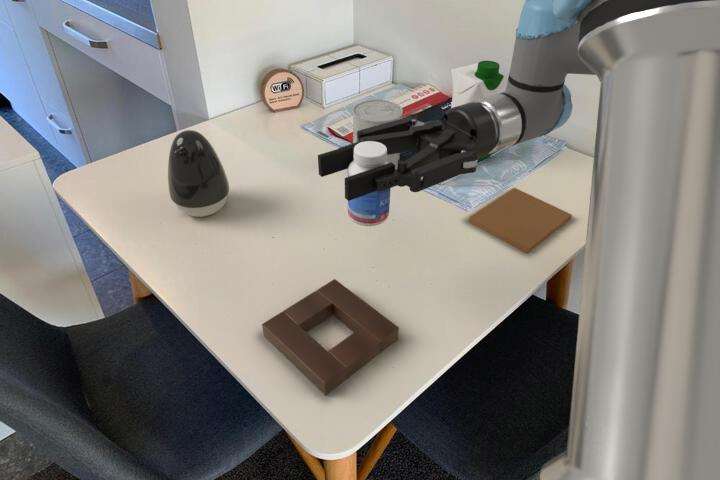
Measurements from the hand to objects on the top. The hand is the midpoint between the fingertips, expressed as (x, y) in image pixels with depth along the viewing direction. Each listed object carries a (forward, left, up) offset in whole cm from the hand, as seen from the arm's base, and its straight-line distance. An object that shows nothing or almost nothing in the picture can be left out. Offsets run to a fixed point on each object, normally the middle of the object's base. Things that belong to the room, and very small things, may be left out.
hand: (333, 177), depth 61 cm
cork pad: (+9, -37, -22) cm, 45 cm away
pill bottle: (+1, -5, -8) cm, 9 cm away
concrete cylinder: (+35, -20, -22) cm, 47 cm away
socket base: (-5, +3, -22) cm, 23 cm away
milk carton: (+33, -40, -22) cm, 57 cm away
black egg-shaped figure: (+32, +15, -22) cm, 42 cm away
